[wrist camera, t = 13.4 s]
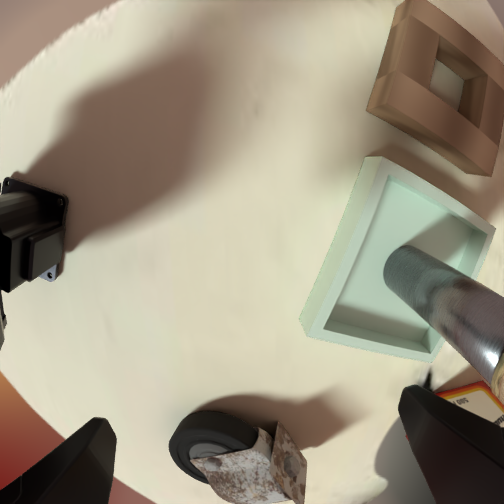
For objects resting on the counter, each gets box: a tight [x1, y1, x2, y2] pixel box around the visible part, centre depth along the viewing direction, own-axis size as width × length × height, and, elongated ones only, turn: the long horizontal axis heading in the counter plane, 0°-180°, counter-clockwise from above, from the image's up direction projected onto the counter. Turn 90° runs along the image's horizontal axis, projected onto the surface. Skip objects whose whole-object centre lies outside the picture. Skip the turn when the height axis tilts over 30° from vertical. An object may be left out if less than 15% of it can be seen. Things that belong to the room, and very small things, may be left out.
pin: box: [383, 245, 504, 405], centre depth 14 cm, size 4×4×13 cm
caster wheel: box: [169, 411, 307, 504], centre depth 22 cm, size 7×11×10 cm
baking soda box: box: [406, 381, 504, 439], centre depth 19 cm, size 10×6×16 cm
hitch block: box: [366, 0, 504, 177], centre depth 16 cm, size 10×10×3 cm
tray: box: [299, 156, 496, 363], centre depth 20 cm, size 12×12×2 cm
